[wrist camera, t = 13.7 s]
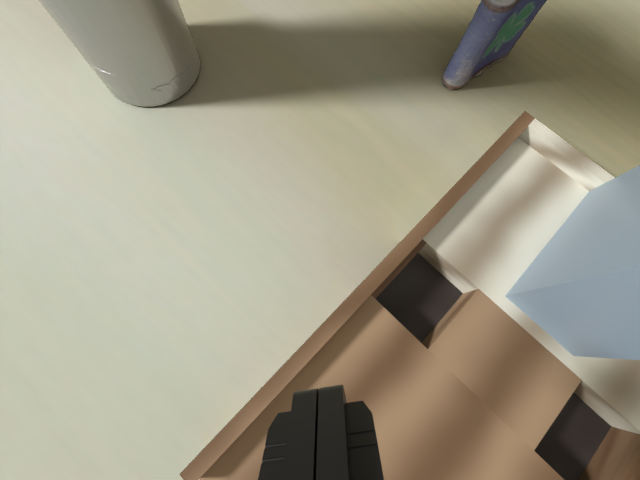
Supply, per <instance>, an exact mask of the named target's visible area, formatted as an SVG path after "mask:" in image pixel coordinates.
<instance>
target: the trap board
mask: <svg viewBox="0 0 640 480" xmlns="http://www.w3.org/2000/svg"><path fill="white" fill-rule="evenodd" d="M612 179H614V177H613V176H612V175H610V174H609V173H608V172H606V171H605V170H604V169H602V168H601V167H600V166H598V165H597V164H596V163H594V162H593V161H592V160H590V159H589V158H588V157H586V156H585V155H584V154H582V153H581V152H580V151H578V150H577V149H575V148H574V147H573V146H571V145H570V144H569V143H567V142H566V141H565V140H563V139H562V138H561V137H559V136H558V135H557V134H555V133H554V132H553V131H551V130H550V129H549V128H547V127H546V126H545V125H543V124H542V123H541V122H539V121H538V120H537V119H535V118H534V117H532V116H531V115H530V114H528V113H527V112H526V111H525V112H524V113H523V114H522V115H521V116H520V117H519V118H518V119H517V120H516V121H515V122H514V123H513V124H512V125H511V126H510V127H509V128H508V129H507V131H506V132H505V133H504V134H503V135H502V136H501V137H500V138H499V139H498V140H497V141H496V142H495V143H494V144H493V145H492V146H491V147H490V148H489V149H488V150H487V152H486V153H485V154H484V155H483V156H482V157H481V158H480V159H479V160H478V161H477V162H476V163H475V164H474V165H473V166H472V167H471V168H470V169H469V170H468V172H467V173H466V174H465V175H464V176H463V177H462V178H461V179H460V180H459V181H458V182H457V183H456V184H455V185H454V186H453V187H452V188H451V189H450V190H449V191H448V193H447V194H446V195H445V196H444V197H443V198H442V199H441V200H440V201H439V202H438V203H437V204H436V205H435V206H434V207H433V208H432V209H431V210H430V211H429V213H428V214H427V215H426V216H425V217H424V218H423V219H422V220H421V221H420V222H419V223H418V224H417V225H416V226H415V227H414V228H413V229H412V230H411V231H410V232H409V234H408V235H407V236H406V237H405V238H404V239H403V240H402V241H401V242H400V243H399V244H398V245H397V246H396V247H395V248H394V249H393V250H392V251H391V252H390V254H389V255H388V256H387V257H386V258H385V259H384V260H383V261H382V262H381V263H380V264H379V265H378V266H377V267H376V268H375V269H374V270H373V271H372V272H371V273H370V275H369V276H368V277H367V278H366V279H365V280H364V281H363V282H362V283H361V284H360V285H359V286H358V287H357V288H356V289H355V290H354V291H353V292H352V293H351V295H350V296H349V297H348V298H347V299H346V300H345V301H344V302H343V303H342V304H341V305H340V306H339V307H338V308H337V309H336V310H335V311H334V312H333V313H332V314H331V316H330V317H329V318H328V319H327V320H326V321H325V322H324V323H323V324H322V325H321V326H320V327H319V328H318V329H317V330H316V331H315V332H314V333H313V334H312V336H311V337H310V338H309V339H308V340H307V341H306V342H305V343H304V344H303V345H302V346H301V347H300V348H299V349H298V350H297V351H296V352H295V353H294V354H293V355H292V357H291V358H290V359H289V360H288V361H287V362H286V363H285V364H284V365H283V366H282V367H281V368H280V369H279V370H278V371H277V372H276V373H275V374H274V375H273V377H272V378H271V379H270V380H269V381H268V382H267V383H266V384H265V385H264V386H263V387H262V388H261V389H260V390H259V391H258V392H257V393H256V394H255V395H254V397H253V398H252V399H251V400H250V401H249V402H248V403H247V404H246V405H245V406H244V407H243V408H242V409H241V410H240V411H239V412H238V413H237V414H236V415H235V416H234V418H233V419H232V420H231V421H230V422H229V423H228V424H227V425H226V426H225V427H224V428H223V429H222V430H221V431H220V432H219V433H218V434H217V435H216V436H215V438H214V439H213V440H212V441H211V442H210V443H209V444H208V445H207V446H206V447H205V448H204V449H203V450H202V451H201V452H200V453H199V454H198V455H197V456H196V457H195V459H194V460H193V461H192V462H191V463H190V464H189V465H188V466H187V467H186V468H185V469H184V470H183V471H182V472H181V473H180V476H181V477H182V478H183V479H184V480H199V479H200V480H258V477H259V472H260V467H261V463H262V458H263V453H264V449H265V443H266V438H267V433H268V428H269V427H270V425H271V424H272V422H273V420H274V419H275V417H276V416H277V414H278V413H282V412H288V411H291V406H292V399H293V393H294V392H296V391H303V390H309V389H316V388H318V389H319V388H322V387H329V386H335V385H342V384H343V386H344V391H345V396H346V401H347V403H349V402H356V401H363V402H364V403H365V404H366V406H367V407H368V408H369V410H370V411H371V412H372V415H373V420H374V426H375V431H376V437H377V442H378V448H379V453H380V459H381V465H382V470H383V476H384V480H640V360H629V359H613V358H597V357H581V356H573V355H572V354H571V353H569V352H568V351H567V350H566V349H565V348H564V347H563V346H561V345H560V344H559V343H558V342H557V341H556V340H555V339H553V338H552V337H551V336H550V335H549V334H548V333H547V332H545V331H544V330H543V329H542V328H541V327H540V326H539V325H537V324H536V323H535V322H534V321H533V320H532V319H531V318H529V317H528V316H527V315H526V314H525V313H524V312H523V311H521V310H520V309H519V308H518V307H517V306H516V305H515V304H513V303H512V302H511V301H510V300H509V299H508V298H507V297H505V295H506V294H507V293H508V292H509V290H510V289H511V288H512V287H513V285H514V284H515V283H516V282H517V280H518V279H519V278H520V277H521V275H522V274H523V273H524V272H525V270H526V269H527V268H528V267H529V265H530V264H531V263H532V262H533V260H534V259H535V258H536V257H537V256H538V254H539V253H540V252H541V251H542V249H543V248H544V247H545V246H546V244H547V243H548V242H549V241H550V239H551V238H552V237H553V236H554V234H555V233H556V232H557V231H558V229H559V228H560V227H561V226H562V224H563V223H564V222H565V221H566V220H567V218H568V217H569V216H570V215H571V213H572V212H573V211H574V210H575V208H576V207H577V206H578V205H579V203H580V202H581V201H582V200H583V198H584V197H585V196H586V195H587V193H588V192H589V191H591V190H593V189H595V188H597V187H599V186H601V185H603V184H604V183H606V182H608V181H610V180H612Z"/></svg>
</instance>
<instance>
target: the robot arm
mask: <svg viewBox="0 0 640 480" xmlns="http://www.w3.org/2000/svg"><path fill="white" fill-rule="evenodd" d="M39 1H40V2H41V4H42V5H43V6H44V8H45V9H46V10H47V11H48V13H49V14H50V15H51V16H52V18H53V19H54V20H55V21H56V23H57V24H58V25H59V27H60V28H61V29H62V30H63V32H64V33H65V34H66V35H67V37H68V38H69V39H70V41H71V42H72V43H73V44H74V46H75V47H76V48H77V49H78V51H79V52H80V53H81V54H82V56H83V57H84V59H85V60H86V61H87V62H88V64H89V65H90V66H91V67H92V69H93V70H94V71H95V72H96V74H97V75H98V76H99V77H100V79H101V80H102V81H103V83H104V84H105V85H106V86H107V88H108V89H109V90H110V91H111V92H112V93H113V94H114V95H115V96H116V97H117V98H119V99H120V100H122V101H123V102H126V103H129V104H131V105H136V106H142V107H149V106H158V105H163V104H166V103H169V102H172V101H174V100H176V99H177V98H179V97H181V96H182V95H184V94H185V93H186V92H187V91H188V90H189V89H190V88H191V87H192V85H193V84H194V83H195V81H196V79H197V77H198V74H199V70H200V59H199V56H198V53H197V50H196V48H195V45H194V42H193V40H192V37H191V34H190V32H189V29H188V26H187V24H186V21H185V18H184V15H183V13H182V10H181V7H180V5H179V2H178V0H39ZM258 480H384V476H383V470H382V465H381V459H380V453H379V448H378V442H377V437H376V431H375V426H374V420H373V415H372V412H371V411H370V410H369V408H368V407H367V406H366V404H365V403H364V402H363V401H356V402H349V403H347V401H346V396H345V391H344V386H343V384H342V385H335V386H329V387H322V388H319V389H318V388H316V389H309V390H303V391H296V392H294V393H293V399H292V406H291V411H288V412H282V413H278V414H277V416H276V417H275V419H274V420H273V422H272V424H271V425H270V427H269V428H268V433H267V438H266V443H265V449H264V453H263V458H262V463H261V467H260V472H259V477H258Z"/></svg>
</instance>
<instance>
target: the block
mask: <svg viewBox="0 0 640 480" xmlns="http://www.w3.org/2000/svg"><path fill="white" fill-rule="evenodd" d="M505 297H507V298H508V299H509V300H510V301H511V302H512V303H513V304H515V305H516V306H517V307H518V308H519V309H520V310H521V311H523V312H524V313H525V314H526V315H527V316H528V317H529V318H531V319H532V320H533V321H534V322H535V323H536V324H537V325H539V326H540V327H541V328H542V329H543V330H544V331H545V332H547V333H548V334H549V335H550V336H551V337H552V338H553V339H555V340H556V341H557V342H558V343H559V344H560V345H561V346H563V347H564V348H565V349H566V350H567V351H568V352H569V353H571V354H572V355H573V356H581V357H597V358H613V359H629V360H640V165H639V166H637V167H635V168H633V169H631V170H629V171H627V172H625V173H624V174H622V175H620V176H618V177H616V178H614V179H612V180H610V181H608V182H606V183H604V184H603V185H601V186H599V187H597V188H595V189H593V190H591V191H589V192H588V193H587V195H586V196H585V197H584V198H583V200H582V201H581V202H580V203H579V205H578V206H577V207H576V208H575V210H574V211H573V212H572V213H571V215H570V216H569V217H568V218H567V220H566V221H565V222H564V223H563V224H562V226H561V227H560V228H559V229H558V231H557V232H556V233H555V234H554V236H553V237H552V238H551V239H550V241H549V242H548V243H547V244H546V246H545V247H544V248H543V249H542V251H541V252H540V253H539V254H538V256H537V257H536V258H535V259H534V260H533V262H532V263H531V264H530V265H529V267H528V268H527V269H526V270H525V272H524V273H523V274H522V275H521V277H520V278H519V279H518V280H517V282H516V283H515V284H514V285H513V287H512V288H511V289H510V290H509V292H508V293H507V294H506V295H505Z"/></svg>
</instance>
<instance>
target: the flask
mask: <svg viewBox="0 0 640 480" xmlns="http://www.w3.org/2000/svg"><path fill="white" fill-rule="evenodd" d="M546 1H547V0H482V1H481V3H480V4H479V6H478V8H477V10H476V13H475V15H474V17H473V19H472V20H471V22H470V24H469V26H468V28H467V30H466V32H465V34H464V36H463V37H462V39H461V42H460V44H459V45H458V48H457V49H456V51H455V53H454V54H453V56H452V58H451V60H450V62H449V64H448V66H447V68H446V69H445V71H444V74H443V76H442V83H443V85H445V84H446V85H445V86H446V87H448V88H449V89H450V90H454V89H459V88H461V87H463V86H465V85H467V82H468V81H470V80H471V79H473V78H474V77H475V78H476V77H477V76H480V75H481V74H482V73H483V72H484V70H485V68H486V67H488V66H489V67H491V66H492V64H493V63H494V62H499V61H500V60H501V59H503V58H505V57H507V55H508V53H509V52H510V50H511V49H512V48H513V46H514V45H515V43H516V42H517V40H518V39H519V38H520V37H521V35H522V33H523V32H524V30H525V29H526V28H527V27H528V26H529V24H530V23H531V21H532V20H533V19H534V17H535V16H536V14H537V13H538V11H539V10H540V9H541V7H542V6H543V5H544V3H545V2H546ZM444 82H445V84H444Z"/></svg>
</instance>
